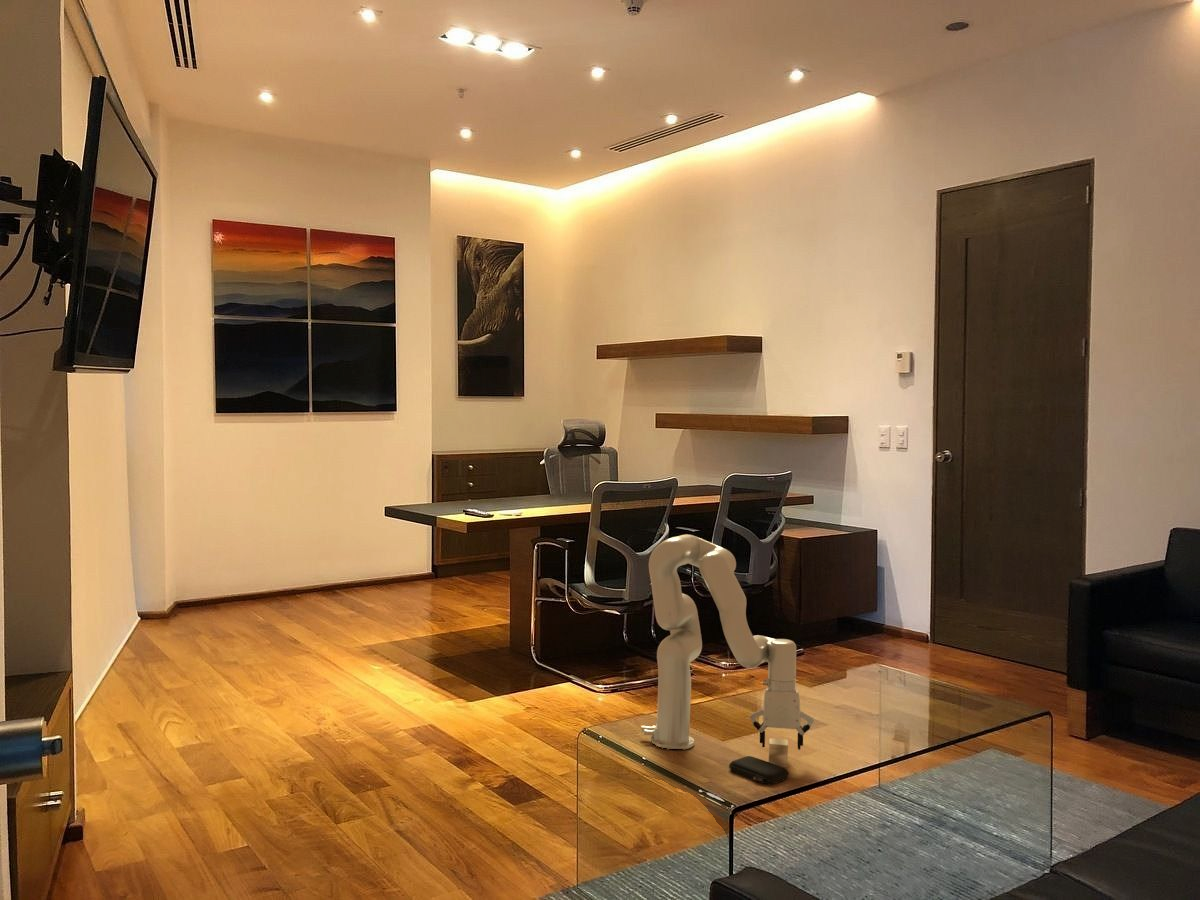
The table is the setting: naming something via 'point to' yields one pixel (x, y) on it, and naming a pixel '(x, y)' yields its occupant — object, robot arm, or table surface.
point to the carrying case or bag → (759, 770)
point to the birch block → (778, 751)
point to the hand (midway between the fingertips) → (781, 746)
